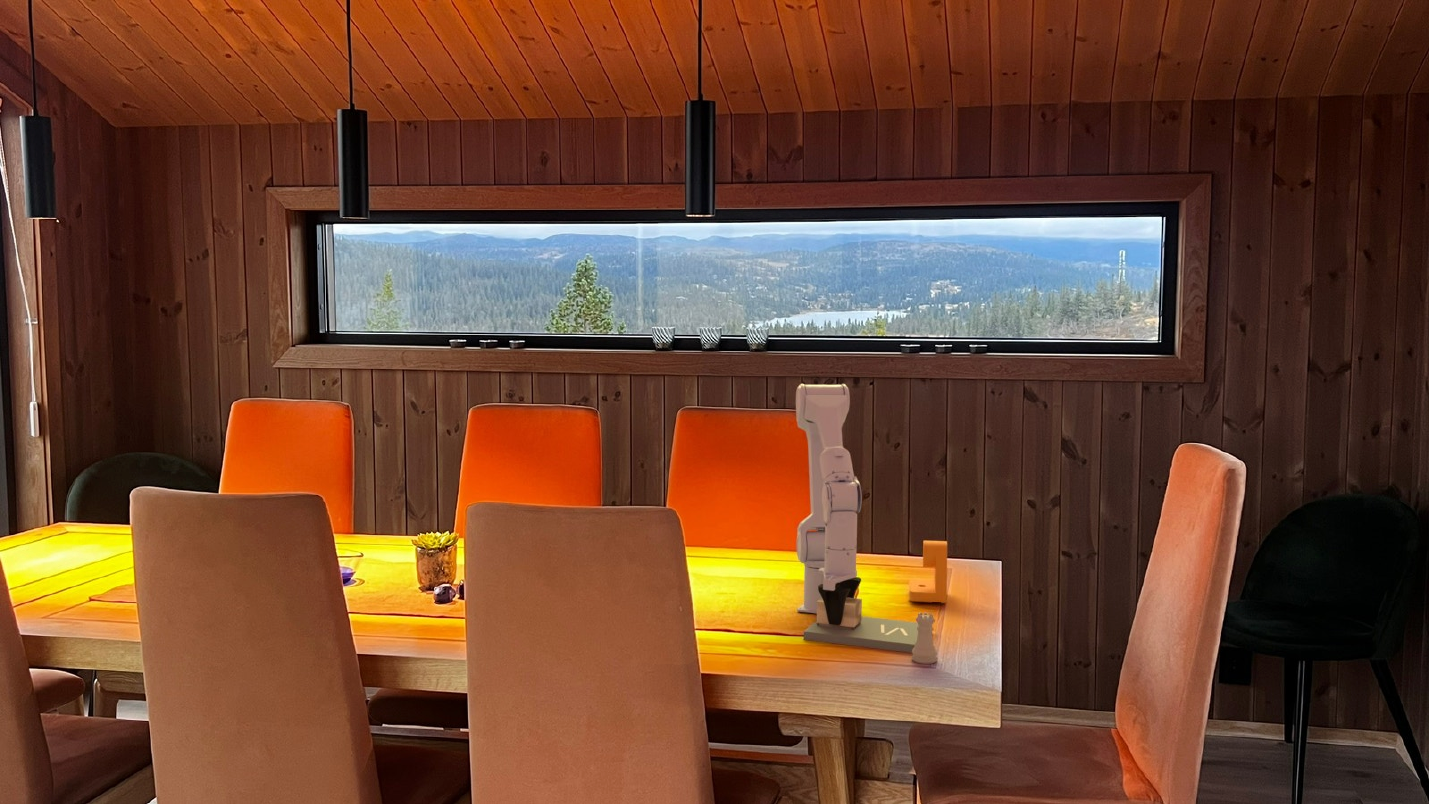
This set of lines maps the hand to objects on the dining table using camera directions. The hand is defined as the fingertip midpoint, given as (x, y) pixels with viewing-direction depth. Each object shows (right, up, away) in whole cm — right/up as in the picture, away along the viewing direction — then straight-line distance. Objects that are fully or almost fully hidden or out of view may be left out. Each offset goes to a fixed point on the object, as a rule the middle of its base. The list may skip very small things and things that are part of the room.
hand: (839, 620), depth 222 cm
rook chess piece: (+13, -4, -16) cm, 21 cm away
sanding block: (0, -1, 0) cm, 1 cm away
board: (+5, -2, -2) cm, 6 cm away
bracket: (+21, 0, +25) cm, 33 cm away
